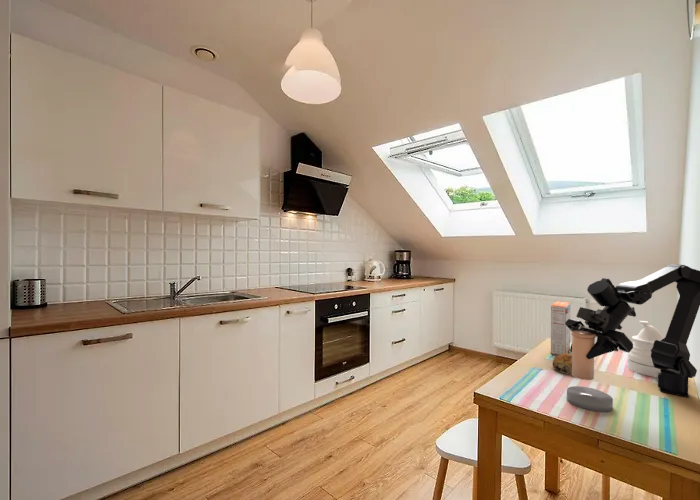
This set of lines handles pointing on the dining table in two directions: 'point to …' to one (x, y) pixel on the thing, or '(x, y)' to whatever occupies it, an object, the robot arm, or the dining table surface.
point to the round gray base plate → (589, 399)
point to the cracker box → (560, 328)
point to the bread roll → (563, 363)
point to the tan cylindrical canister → (582, 355)
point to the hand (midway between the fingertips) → (578, 354)
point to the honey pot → (644, 351)
